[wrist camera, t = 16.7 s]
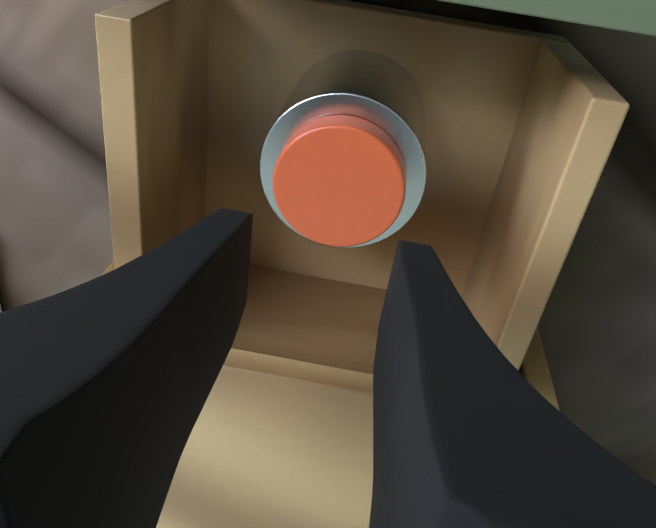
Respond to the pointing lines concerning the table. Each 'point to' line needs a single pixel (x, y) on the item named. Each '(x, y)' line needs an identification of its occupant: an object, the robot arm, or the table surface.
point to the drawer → (441, 152)
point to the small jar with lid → (347, 152)
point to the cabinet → (288, 445)
